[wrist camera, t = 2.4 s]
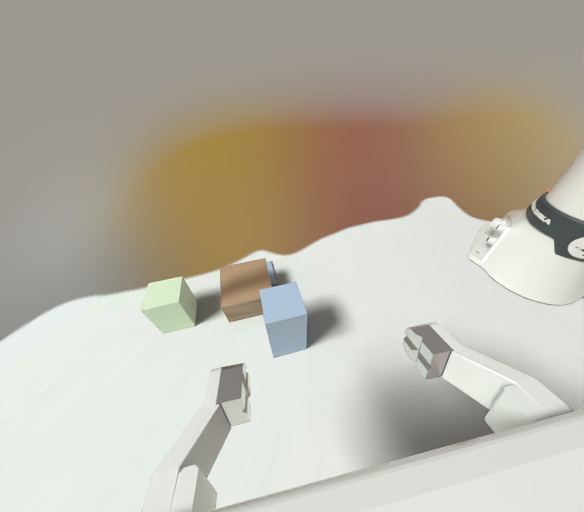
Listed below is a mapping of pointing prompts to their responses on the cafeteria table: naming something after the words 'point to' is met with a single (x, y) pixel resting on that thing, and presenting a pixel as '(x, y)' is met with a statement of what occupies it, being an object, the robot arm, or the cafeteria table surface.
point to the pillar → (284, 318)
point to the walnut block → (243, 289)
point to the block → (170, 305)
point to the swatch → (271, 273)
